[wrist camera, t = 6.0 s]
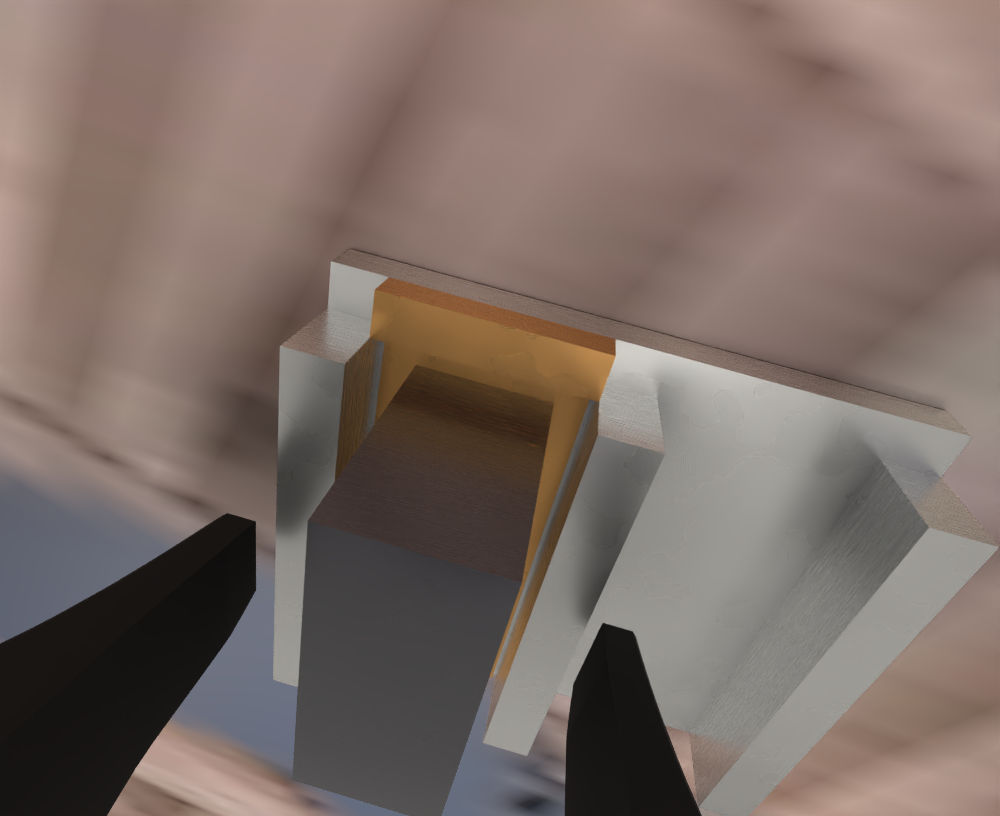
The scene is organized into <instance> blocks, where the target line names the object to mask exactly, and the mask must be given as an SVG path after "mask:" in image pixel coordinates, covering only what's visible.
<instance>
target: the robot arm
mask: <svg viewBox="0 0 1000 816" xmlns="http://www.w3.org/2000/svg"><path fill="white" fill-rule="evenodd" d="M255 591H256V521H252V520H249V519H245V518H242V517H238V516H235V515H232V514H228V513H227V514H225V515H223V516H221V517H219V518H218V519H216V520H215V521H213V522H211V523H210V524H208V525H207V526H205V527H204V528H202V529H200V530H199V531H197V532H196V533H194V534H193V535H191V536H190V537H188V538H186V539H185V540H183V541H182V542H180V543H179V544H177V545H175V546H174V547H172V548H171V549H169V550H168V551H166V552H164V553H163V554H161V555H160V556H158V557H156V558H155V559H153V560H151V561H150V562H148V563H147V564H145V565H143V566H142V567H140V568H138V569H137V570H135V571H133V572H132V573H130V574H128V575H127V576H125V577H123V578H122V579H120V580H119V581H117V582H115V583H113V584H112V585H110V586H108V587H106V588H105V589H103V590H101V591H99V592H98V593H96V594H94V595H92V596H90V597H89V598H87V599H85V600H83V601H81V602H80V603H78V604H76V605H74V606H72V607H71V608H69V609H67V610H65V611H63V612H62V613H60V614H58V615H56V616H54V617H52V618H50V619H48V620H46V621H45V622H43V623H41V624H39V625H37V626H35V627H33V628H31V629H29V630H27V631H25V632H23V633H21V634H19V635H17V636H15V637H13V638H11V639H9V640H7V641H5V642H2V643H0V816H107V814H108V813H109V811H110V809H111V808H112V806H113V805H114V803H115V801H116V800H117V798H118V796H119V795H120V793H121V791H122V790H123V788H124V786H125V785H126V783H127V782H128V780H129V778H130V777H131V775H132V773H133V772H134V770H135V768H136V767H137V765H138V764H139V762H140V761H141V759H142V758H143V756H144V755H145V754H146V752H147V751H148V749H149V748H150V746H151V745H152V743H153V742H154V740H155V739H156V738H157V736H158V735H159V734H160V732H161V731H162V729H163V728H164V727H165V725H166V724H167V723H168V721H169V720H170V718H171V717H172V715H173V714H174V713H175V711H176V710H177V709H178V707H179V706H180V705H181V703H182V702H183V701H184V699H185V698H186V697H187V695H188V694H189V692H190V691H191V690H192V688H193V687H194V686H195V684H196V683H197V681H198V680H199V679H200V677H201V676H202V674H203V673H204V672H205V670H206V669H207V667H208V666H209V665H210V663H211V662H212V661H213V659H214V658H215V657H216V655H217V654H218V652H219V651H220V650H221V648H222V647H223V645H224V644H225V642H226V641H227V640H228V638H229V637H230V635H231V633H232V632H233V630H234V628H235V627H236V625H237V623H238V621H239V620H240V618H241V616H242V614H243V613H244V611H245V609H246V607H247V605H248V604H249V602H250V600H251V598H252V596H253V594H254V593H255ZM565 816H702V815H701V813H700V811H699V808H698V806H697V804H696V801H695V799H694V797H693V794H692V792H691V790H690V788H689V785H688V783H687V781H686V778H685V776H684V773H683V771H682V768H681V766H680V763H679V761H678V758H677V756H676V753H675V751H674V748H673V745H672V743H671V740H670V737H669V735H668V732H667V730H666V727H665V724H664V722H663V719H662V716H661V713H660V711H659V708H658V705H657V702H656V699H655V696H654V693H653V690H652V687H651V684H650V681H649V678H648V675H647V672H646V669H645V665H644V662H643V659H642V656H641V652H640V649H639V645H638V642H637V638H636V636H635V634H634V633H633V631H630V630H626V629H623V628H620V627H616V626H613V625H609V624H606V623H602V625H601V627H600V629H599V631H598V633H597V635H596V637H595V640H594V642H593V644H592V646H591V648H590V650H589V652H588V654H587V656H586V658H585V660H584V663H583V665H582V667H581V669H580V671H579V673H578V675H577V677H576V679H575V681H574V683H573V690H572V698H571V705H570V713H569V721H568V730H567V740H566V780H565Z"/></svg>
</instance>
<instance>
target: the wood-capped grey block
mask: <svg viewBox="0 0 1000 816" xmlns="http://www.w3.org/2000/svg"><path fill="white" fill-rule="evenodd" d="M553 406H554V403H551V402H548V401H544V400H540V399H537V398H533V397H530V396H526V395H522V394H519V393H515V392H512V391H508V390H504V389H501V388H497V387H494V386H490V385H487V384H483V383H479V382H476V381H472V380H469V379H465V378H461V377H458V376H454V375H451V374H447V373H443V372H440V371H436V370H433V369H429V368H426V367H422V366H418V365H415V367H414V368H413V370H412V371H411V373H410V374H409V376H408V377H407V378H406V380H405V381H404V383H403V384H402V386H401V387H400V389H399V390H398V391H397V393H396V394H395V396H394V397H393V399H392V400H391V401H390V403H389V404H388V406H387V407H386V409H385V410H384V412H383V413H382V414H381V416H380V417H379V419H378V420H377V422H376V423H375V425H374V426H373V427H372V429H371V430H370V432H369V433H368V435H367V436H366V437H365V439H364V440H363V442H362V443H361V445H360V446H359V448H358V449H357V450H356V452H355V453H354V455H353V456H352V458H351V459H350V461H349V462H348V463H347V465H346V466H345V468H344V469H343V471H342V472H341V473H340V475H339V476H338V478H337V479H336V481H335V482H334V484H333V485H332V486H331V488H330V489H329V491H328V492H327V494H326V495H325V497H324V498H323V499H322V501H321V502H320V504H319V505H318V507H317V508H316V509H315V511H314V512H313V514H312V515H311V517H310V518H309V520H308V524H307V541H306V558H305V576H304V593H303V610H302V627H301V644H300V661H299V678H298V695H297V713H296V729H295V746H294V763H293V780H295V781H298V782H301V783H304V784H308V785H311V786H314V787H318V788H321V789H324V790H327V791H331V792H334V793H337V794H340V795H344V796H347V797H350V798H353V799H357V800H360V801H363V802H367V803H370V804H373V805H377V806H379V807H383V808H386V809H389V810H393V811H396V812H399V813H402V814H406V815H409V816H441V815H442V812H443V809H444V806H445V803H446V800H447V798H448V795H449V792H450V789H451V786H452V783H453V780H454V777H455V774H456V772H457V769H458V766H459V763H460V760H461V757H462V754H463V751H464V749H465V746H466V743H467V740H468V737H469V734H470V731H471V728H472V725H473V723H474V720H475V717H476V714H477V711H478V708H479V705H480V702H481V700H482V697H483V694H484V691H485V688H486V685H487V682H488V679H489V676H490V674H491V671H492V668H493V665H494V662H495V659H496V656H497V653H498V650H499V648H500V645H501V642H502V639H503V636H504V633H505V630H506V627H507V625H508V622H509V619H510V616H511V613H512V610H513V607H514V604H515V601H516V599H517V596H518V593H519V590H520V587H521V584H522V580H523V574H524V569H525V563H526V557H527V552H528V546H529V541H530V535H531V529H532V524H533V518H534V513H535V507H536V501H537V496H538V490H539V485H540V479H541V473H542V468H543V462H544V456H545V451H546V445H547V440H548V434H549V428H550V423H551V417H552V412H553Z"/></svg>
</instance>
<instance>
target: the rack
mask: <svg viewBox="0 0 1000 816" xmlns="http://www.w3.org/2000/svg"><path fill="white" fill-rule="evenodd" d="M415 365H418V366H422V367H426V368H429V369H433V370H436V371H440V372H443V373H447V374H451V375H454V376H458V377H461V378H465V379H469V380H472V381H476V382H479V383H483V384H487V385H490V386H494V387H497V388H501V389H504V390H508V391H512V392H515V393H519V394H522V395H526V396H530V397H533V398H537V399H540V400H544V401H548V402H551V403H554V406H553V412H552V417H551V423H550V428H549V434H548V440H547V445H546V451H545V456H544V462H543V468H542V473H541V479H540V485H539V490H538V496H537V501H536V507H535V513H534V518H533V524H532V529H531V535H530V541H529V546H528V552H527V557H526V563H525V569H524V574H523V580H522V584H521V587H520V590H519V593H518V596H517V599H516V601H515V604H514V607H513V610H512V613H511V616H510V619H509V622H508V625H507V627H506V630H505V633H504V636H503V639H502V642H501V645H500V648H499V650H498V653H497V656H496V659H495V662H494V665H493V668H492V671H491V674H490V676H489V677H492V676H493V675H496V678H495V683H494V688H493V693H492V698H491V703H490V709H489V714H488V719H487V724H486V729H485V734H484V739H483V743H485V744H489V745H492V746H495V747H499V748H502V749H505V750H509V751H512V752H515V753H518V754H522V755H525V756H527V755H528V753H529V750H530V748H531V746H532V744H533V742H534V740H535V737H536V735H537V733H538V731H539V729H540V726H541V724H542V722H543V720H544V718H545V716H546V713H547V711H548V709H549V707H550V705H551V702H552V700H553V698H554V696H555V694H556V693H557V694H561V695H564V696H568V697H571V698H572V690H573V683H574V681H575V679H576V677H577V675H578V673H579V671H580V669H581V667H582V665H583V663H584V660H585V658H586V656H587V654H588V652H589V650H590V648H591V646H592V644H593V642H594V640H595V637H596V635H597V633H598V631H599V629H600V627H601V625H602V623H606V624H609V625H613V626H616V627H620V628H623V629H626V630H630V631H633V633H634V634H635V636H636V638H637V642H638V645H639V649H640V652H641V656H642V659H643V662H644V665H645V669H646V672H647V675H648V678H649V681H650V684H651V687H652V690H653V693H654V696H655V699H656V702H657V705H658V708H659V711H660V713H661V716H662V719H663V722H664V724H665V726H669V727H672V728H676V729H679V730H682V731H686V732H689V736H690V744H691V752H692V761H693V769H694V777H695V785H696V794H697V802H698V808H701V809H705V810H708V811H711V812H715V813H718V814H721V815H725V816H749V815H750V814H751V813H752V811H753V810H754V809H755V808H756V807H757V806H758V805H759V804H760V803H761V802H762V801H763V800H764V799H765V798H766V797H767V795H768V794H769V793H770V792H771V791H772V790H773V789H774V788H775V787H776V786H777V785H778V784H779V783H780V782H781V780H782V779H783V778H784V777H785V776H786V775H787V774H788V773H789V772H790V771H791V770H792V769H793V768H794V767H795V765H796V764H797V763H798V762H799V761H800V760H801V759H802V758H803V757H804V756H805V755H806V754H807V753H808V752H809V750H810V749H811V748H812V747H813V746H814V745H815V744H816V743H817V742H818V741H819V740H820V739H821V738H822V737H823V735H824V734H825V733H826V732H827V731H828V730H829V729H830V728H831V727H832V726H833V725H834V724H835V723H836V722H837V720H838V719H839V718H840V717H841V716H842V715H843V714H844V713H845V712H846V711H847V710H848V709H849V708H850V707H851V705H852V704H853V703H854V702H855V701H856V700H857V699H858V698H859V697H860V696H861V695H862V694H863V693H864V692H865V690H866V689H867V688H868V687H869V686H870V685H871V684H872V683H873V682H874V681H875V680H876V679H877V678H878V677H879V676H880V674H881V673H882V672H883V671H884V670H885V669H886V668H887V667H888V666H889V665H890V664H891V663H892V662H893V661H894V659H895V658H896V657H897V656H898V655H899V654H900V653H901V652H902V651H903V650H904V649H905V648H906V647H907V646H908V644H909V643H910V642H911V641H912V640H913V639H914V638H915V637H916V636H917V635H918V634H919V633H920V632H921V631H922V629H923V628H924V627H925V626H926V625H927V624H928V623H929V622H930V621H931V620H932V619H933V618H934V617H935V616H936V614H937V613H938V612H939V611H940V610H941V609H942V608H943V607H944V606H945V605H946V604H947V603H948V602H949V601H950V599H951V598H952V597H953V596H954V595H955V594H956V593H957V592H958V591H959V590H960V589H961V588H962V587H963V586H964V584H965V583H966V582H967V581H968V580H969V579H970V578H971V577H972V576H973V575H974V574H975V573H976V572H977V571H978V570H979V568H980V567H981V566H982V565H983V564H984V563H985V562H986V561H987V560H988V559H989V558H990V557H991V556H992V555H993V553H994V552H995V551H996V550H997V549H998V548H999V546H998V545H997V544H996V543H995V542H994V540H993V539H992V538H991V537H990V536H989V534H988V533H987V532H986V531H985V530H984V528H983V527H982V526H981V525H980V524H979V522H978V521H977V520H976V519H975V518H974V517H973V515H972V514H971V513H970V512H969V511H968V509H967V508H966V507H965V506H964V505H963V503H962V502H961V501H960V500H959V499H958V497H957V496H956V495H955V494H954V493H953V491H952V490H951V489H950V488H949V487H948V486H947V484H946V483H945V482H944V481H943V480H942V478H941V477H942V475H943V474H944V473H945V471H946V470H947V469H948V468H949V466H950V465H951V464H952V463H953V461H954V460H955V459H956V458H957V456H958V455H959V454H960V453H961V451H962V450H963V449H964V447H965V446H966V445H967V444H968V442H969V441H970V440H971V439H972V436H971V435H970V434H969V433H968V432H967V431H966V430H965V429H964V428H963V427H962V426H961V425H960V424H959V423H958V422H957V421H956V420H955V419H954V418H953V417H952V416H951V415H950V414H949V413H948V412H947V411H944V410H940V409H937V408H933V407H929V406H926V405H922V404H918V403H915V402H911V401H907V400H904V399H900V398H896V397H893V396H889V395H885V394H882V393H878V392H874V391H871V390H867V389H863V388H860V387H856V386H852V385H849V384H845V383H841V382H838V381H834V380H830V379H827V378H823V377H819V376H816V375H812V374H808V373H805V372H801V371H797V370H794V369H790V368H786V367H783V366H779V365H775V364H772V363H768V362H764V361H760V360H757V359H753V358H749V357H746V356H742V355H738V354H735V353H731V352H727V351H724V350H720V349H716V348H713V347H709V346H705V345H702V344H698V343H694V342H691V341H687V340H683V339H680V338H676V337H672V336H669V335H665V334H661V333H658V332H654V331H650V330H647V329H643V328H639V327H636V326H632V325H628V324H625V323H621V322H617V321H614V320H610V319H606V318H603V317H599V316H595V315H592V314H588V313H584V312H581V311H577V310H573V309H570V308H566V307H562V306H559V305H555V304H551V303H548V302H544V301H540V300H537V299H533V298H529V297H526V296H522V295H518V294H515V293H511V292H507V291H504V290H500V289H496V288H493V287H489V286H485V285H482V284H478V283H474V282H471V281H467V280H463V279H460V278H456V277H452V276H449V275H445V274H441V273H438V272H434V271H430V270H427V269H423V268H419V267H416V266H412V265H408V264H405V263H401V262H397V261H394V260H390V259H386V258H383V257H379V256H375V255H372V254H368V253H364V252H361V251H357V250H353V249H350V250H348V251H347V252H345V253H343V254H342V255H340V256H339V257H337V258H335V259H334V260H332V261H331V269H330V284H329V299H328V308H327V309H326V310H325V311H323V312H322V313H321V314H320V315H318V316H317V317H316V318H315V319H313V320H312V321H311V322H310V323H308V324H307V325H306V326H304V327H303V328H302V329H301V330H299V331H298V332H297V333H296V334H294V335H293V336H292V337H291V338H289V339H288V340H287V341H286V342H284V343H283V344H282V345H280V365H279V414H278V463H277V513H276V562H275V611H274V660H273V661H274V662H273V680H276V681H279V682H283V683H286V684H289V685H293V686H296V687H298V678H299V661H300V644H301V627H302V610H303V593H304V576H305V558H306V541H307V524H308V520H309V518H310V517H311V515H312V514H313V512H314V511H315V509H316V508H317V507H318V505H319V504H320V502H321V501H322V499H323V498H324V497H325V495H326V494H327V492H328V491H329V489H330V488H331V486H332V485H333V484H334V482H335V481H336V479H337V478H338V476H339V475H340V473H341V472H342V471H343V469H344V468H345V466H346V465H347V463H348V462H349V461H350V459H351V458H352V456H353V455H354V453H355V452H356V450H357V449H358V448H359V446H360V445H361V443H362V442H363V440H364V439H365V437H366V436H367V435H368V433H369V432H370V430H371V429H372V427H373V426H374V425H375V423H376V422H377V420H378V419H379V417H380V416H381V414H382V413H383V412H384V410H385V409H386V407H387V406H388V404H389V403H390V401H391V400H392V399H393V397H394V396H395V394H396V393H397V391H398V390H399V389H400V387H401V386H402V384H403V383H404V381H405V380H406V378H407V377H408V376H409V374H410V373H411V371H412V370H413V368H414V367H415Z"/></svg>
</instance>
